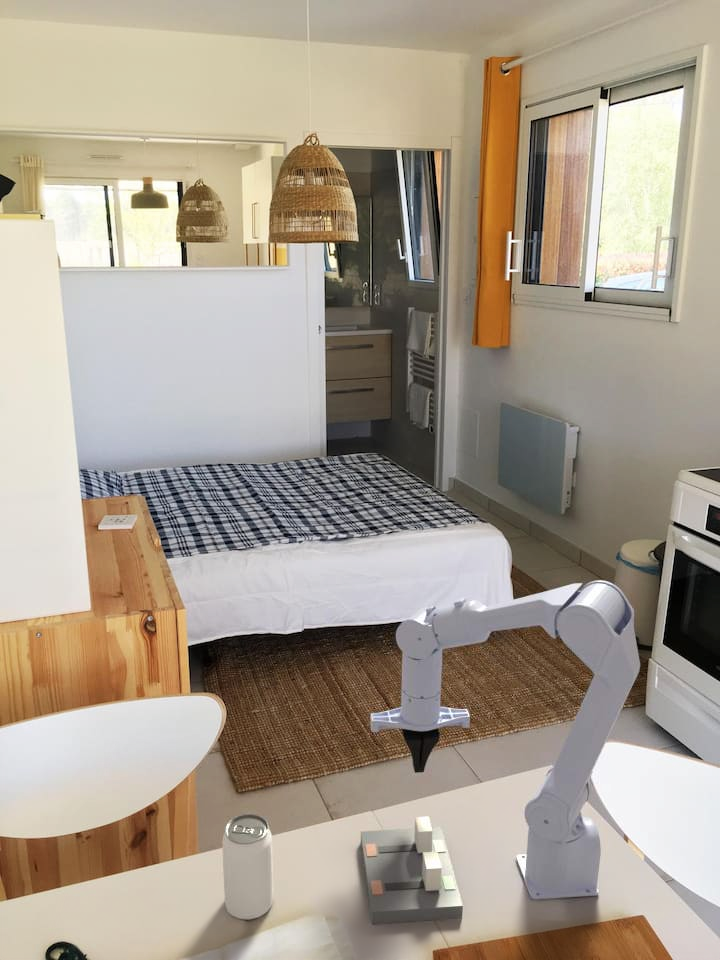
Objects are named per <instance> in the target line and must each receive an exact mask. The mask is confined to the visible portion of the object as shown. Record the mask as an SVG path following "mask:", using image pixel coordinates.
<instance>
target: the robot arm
mask: <svg viewBox="0 0 720 960" xmlns="http://www.w3.org/2000/svg"><path fill="white" fill-rule="evenodd" d="M582 585H583V582H582V583H581V582H579V583H576V582H575V583H571V584H568V585H564V586H561V587H557V588H553V589H549V590H546V591H543V592H538V593H534V594H529V595H526V596H523V597H519V598H514V599H512V600H507V601H503V602H500V603H496V604H491V605H488V606H487V605H485V604H484V603H482V602H481V601H480V600H477V599H473V600H469V601H467V598H466V597H460V598H458V599H456V600H455V601H454V602H453V604H450V605H447V606H441V607H436V605H431V606H427V607H426V606H425V607H421V608H419V609H417V610H416V611H415V612H414V613H412V614H411V615H410V616H409V617H407V618H406V619H405V620H403V621H402V622H401V623H400V624H399V625H398V627H397V629H396V631H395V641H396V644H397V646H398V648H399V650H400V651H401V653H402V658H401V659H402V660H401V661H402V662H401V693H400V694H401V695H400V696H401V698H400V700H401V701H400V707H396V708H393V709H389V710H385V711H381V712H375V713H374V712H373V713H372V712H371V713H370V718H369V719H370V724H369V725H370V729H371V733H378V732H380V730H390V729H391V730H392V729H401V732H402V735H403V736H402V737H403V740H404V741H405V744H406V745H407V748H408V751H409V752H410V754H411V755H410V756H411V761H412V767H413V772H414V773H424V772H425V769H426V768H425V767H426V765H427V762H428V759H429V757H430V755H431V752H433V750H434V748H435V747H436V746H437V744H438V743H439V742H440V738H441V737H440V736H441V734H440V731H439V730H440V729H441V728H444V727H455V726H456V727H457V726H459V727H460V726H461V728H462V729H467V728H470V727H471V726H470V724H471V723H470V722H471V716H470V715H471V714H470V713H469V709H467V708H462V709H461V708H452V707H446V706H441V694H442V692H441V691H442V671H443V670H442V669H443V650H446V649H451V648H457V647H462V646H468V645H474V644H479V643H485V642H487V640H488V638H489V637H490V634H491V633H492V632H497V631H498V632H499V631H504V630H513V629H520V628H522V629H523V628H529V627H535V626H536V627H537V626H541V627H542V628H543V629H544V631H545V632H546V633H547V634H548V635H549V636H550V637H551V638H552V639H554V640H555V639H557V638H558V636H559V638H561V641H562V642H563V643H564V644H565V646H566V647H567V648H568V649H569V650H570V651H571V652H572V653H574V654H575V656H577V658H579V660H581V662H583V664H584V665H586V667H587V668H589V670H591V671H592V673H593V676H592V680H591V681H590V684H589V687H588V688H587V690H586V694H585V695H584V697H583V700H582V703H581V705H580V707H579V709H578V712H577V713H576V716H575V718H574V720H573V722H572V724H571V727H570V729H569V731H568V734H567V736H566V738H565V741H564V743H563V745H562V747H561V750H560V752H559V754H558V756H557V759H556V761H555V763H554V765H553V766H552V767H550V768H549V770H548V771H547V773H546V774H545V778H544V779H543V781H542V783H541V784H540V786H539V788H538V789H537V790H536V792H535V794H534V795H533V797H532V799H530V800H529V801H528V802H527V803H526V805H525V808H524V819H525V822H526V823H527V826H528V831H527V833H528V834H527V842H526V843H527V844H526V854H517V855H516V856H515V857H516V859H515V860H516V862H517V865H518V867H519V871H520V872H521V875H522V878H523V880H524V884H525V886H526V888H527V890H528V894H529V896H530V898H531V899H532V900H546V899H547V900H548V899H561V898H563V899H564V898H574V897H575V898H576V897H591V896H592V897H593V896H594V897H595V896H598V895H599V893H600V891H599V889H598V881H599V872H600V871H599V870H600V864H601V862H600V861H601V855H602V854H601V851H602V848H601V847H602V846H601V840H600V835H599V831H598V827H597V825H596V824H595V821H594V820H593V819H592V818H591V817H587V816H583V815H582V812H581V811H582V810H583V807H584V806H585V804H586V803H587V802H588V800H589V799H590V796H591V786H590V781H591V777H592V775H593V772H594V771H593V770H594V768H595V766H596V765H597V763H598V760H599V757H600V755H601V753H602V752H603V749H604V747H605V745H606V744H607V741H608V738H609V736H610V734H611V731H612V730H613V727H614V725H615V724H616V721H617V719H618V717H619V715H620V713H621V711H622V709H623V707H624V704H625V702H626V701H627V698H628V697H629V694H630V692H631V689H632V687H633V685H634V683H635V681H636V679H637V677H638V675H639V673H640V669H641V661H640V656H639V655H640V654H639V650H638V645H637V639H636V633H635V627H634V626H635V622H634V621H635V619H634V618H635V610H634V608H633V606H632V605H631V603H630V602H629V600H628V598H627V597H626V594H624V592H623V591H622V590H621V589H620V588H619V587H618V586H617V585H616V584H614V583H612V582H610V581H607V580H599V579H598V580H593V581H590V582H588V583H586V584H585V585H584V586H583V587H582V588H581V590H579V589H580V587H581V586H582Z"/></svg>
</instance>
